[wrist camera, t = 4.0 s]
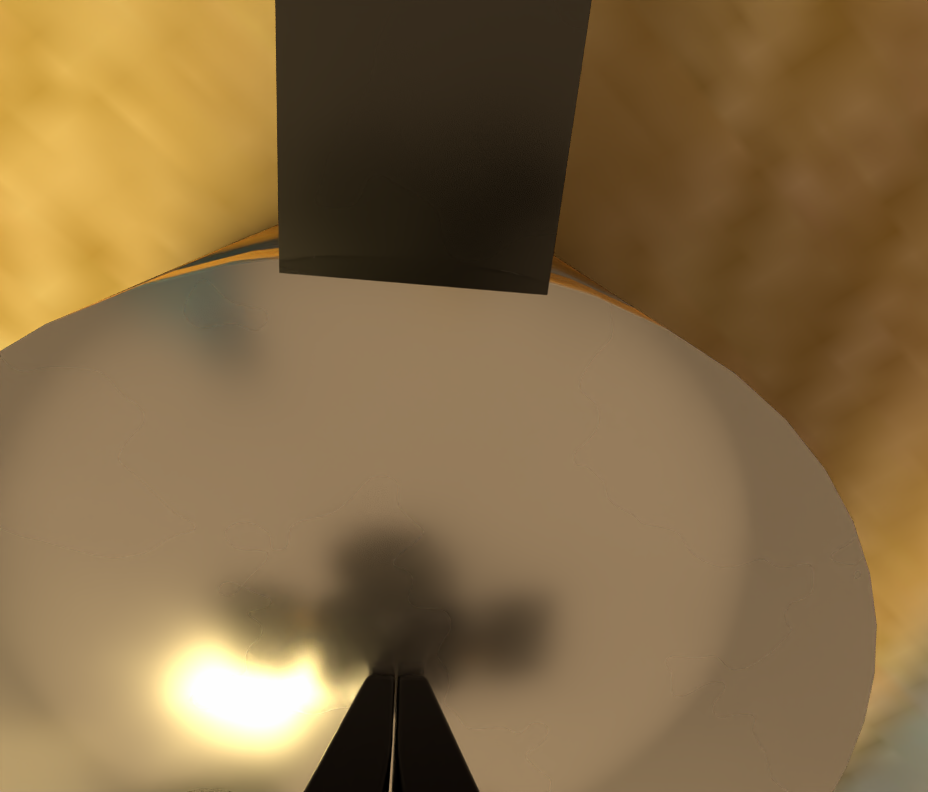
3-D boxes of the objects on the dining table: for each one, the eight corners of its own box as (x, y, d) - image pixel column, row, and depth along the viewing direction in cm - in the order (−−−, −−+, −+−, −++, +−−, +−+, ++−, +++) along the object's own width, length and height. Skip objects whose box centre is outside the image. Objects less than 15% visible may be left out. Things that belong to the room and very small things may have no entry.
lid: (-15, 983, 12) (-57, 1064, 11) (-406, -190, 6) (-613, -281, 4) (703, 952, 14) (728, 1020, 13) (1080, 31, 7) (1201, 6, 6)
